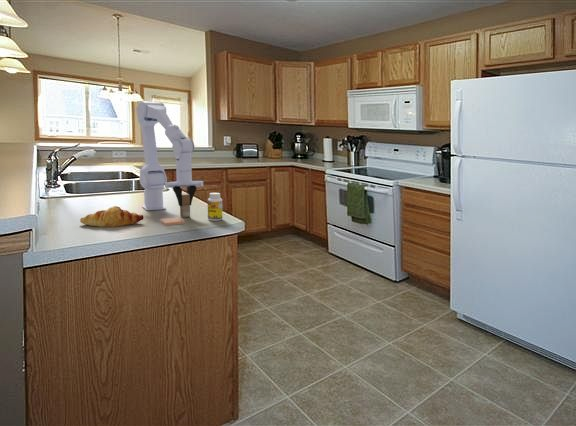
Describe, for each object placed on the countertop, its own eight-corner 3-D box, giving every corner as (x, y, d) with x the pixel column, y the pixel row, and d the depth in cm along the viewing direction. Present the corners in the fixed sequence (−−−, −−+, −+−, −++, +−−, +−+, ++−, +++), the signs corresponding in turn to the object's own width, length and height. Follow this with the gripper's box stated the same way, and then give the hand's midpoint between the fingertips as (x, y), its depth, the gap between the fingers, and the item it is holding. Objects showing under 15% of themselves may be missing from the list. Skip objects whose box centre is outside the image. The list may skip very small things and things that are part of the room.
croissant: (79, 237, 142) (74, 219, 137) (83, 218, 150) (79, 201, 145) (144, 233, 148) (141, 216, 143) (145, 215, 155) (142, 198, 150)
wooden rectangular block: (180, 216, 162) (179, 193, 160) (187, 215, 163) (187, 193, 161) (182, 218, 159) (182, 195, 157) (190, 217, 160) (190, 194, 158)
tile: (160, 218, 153) (164, 222, 147) (179, 217, 156) (184, 221, 150) (160, 222, 153) (164, 226, 147) (179, 220, 157) (184, 224, 151)
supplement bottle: (204, 219, 157) (204, 193, 155) (214, 217, 162) (213, 191, 160) (216, 221, 155) (215, 195, 152) (225, 219, 159) (225, 193, 157)
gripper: (167, 172, 151) (168, 208, 153) (205, 170, 158) (206, 205, 161) (162, 170, 156) (164, 205, 159) (199, 169, 164) (200, 202, 167)
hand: (184, 205), depth 160 cm, fingers closed on wooden rectangular block, 3 cm apart
